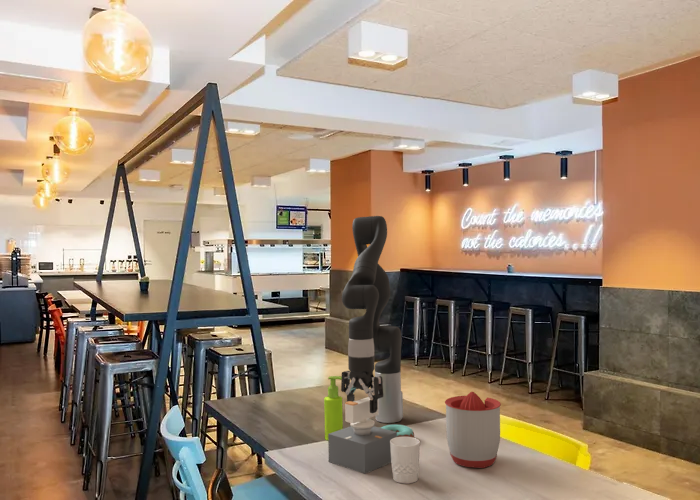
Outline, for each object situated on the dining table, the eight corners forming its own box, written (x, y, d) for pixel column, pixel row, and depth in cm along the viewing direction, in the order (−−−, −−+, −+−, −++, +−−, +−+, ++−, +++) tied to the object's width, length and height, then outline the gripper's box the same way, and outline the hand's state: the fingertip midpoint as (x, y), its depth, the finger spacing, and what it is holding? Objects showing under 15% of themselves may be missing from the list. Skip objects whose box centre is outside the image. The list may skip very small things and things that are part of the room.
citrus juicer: (506, 454, 172) (505, 386, 172) (496, 475, 157) (495, 400, 157) (454, 447, 179) (453, 382, 179) (439, 467, 163) (438, 395, 163)
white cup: (388, 473, 159) (387, 437, 159) (417, 472, 159) (416, 435, 159) (393, 485, 151) (392, 446, 151) (423, 484, 152) (422, 445, 152)
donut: (371, 437, 190) (370, 425, 190) (404, 433, 194) (404, 421, 194) (385, 449, 178) (385, 436, 178) (420, 444, 183) (420, 431, 183)
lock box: (361, 448, 179) (360, 416, 179) (397, 459, 169) (396, 425, 169) (328, 461, 168) (328, 426, 168) (365, 473, 159) (364, 437, 159)
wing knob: (366, 418, 175) (365, 393, 175) (383, 423, 170) (383, 397, 170) (340, 427, 167) (340, 401, 167) (358, 432, 162) (358, 405, 162)
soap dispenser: (344, 441, 185) (343, 378, 185) (322, 440, 187) (321, 378, 187) (347, 436, 191) (346, 374, 191) (327, 434, 193) (326, 374, 193)
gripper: (388, 354, 167) (389, 411, 167) (352, 349, 176) (352, 403, 176) (371, 358, 161) (372, 417, 161) (334, 353, 171) (335, 408, 171)
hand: (362, 410), depth 169 cm, fingers open, 8 cm apart
